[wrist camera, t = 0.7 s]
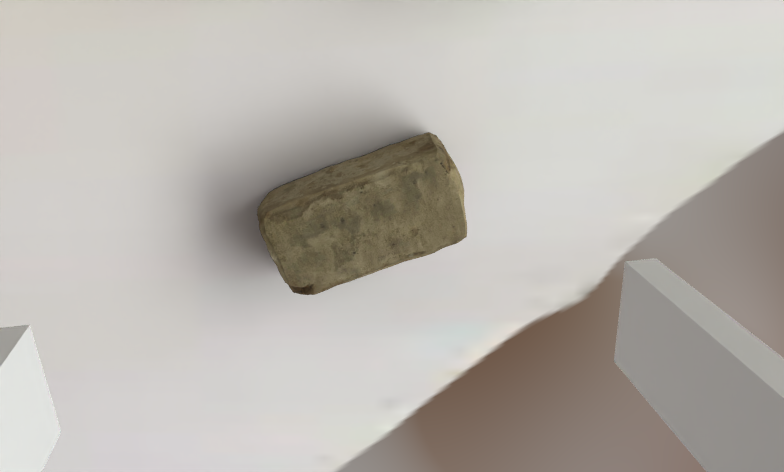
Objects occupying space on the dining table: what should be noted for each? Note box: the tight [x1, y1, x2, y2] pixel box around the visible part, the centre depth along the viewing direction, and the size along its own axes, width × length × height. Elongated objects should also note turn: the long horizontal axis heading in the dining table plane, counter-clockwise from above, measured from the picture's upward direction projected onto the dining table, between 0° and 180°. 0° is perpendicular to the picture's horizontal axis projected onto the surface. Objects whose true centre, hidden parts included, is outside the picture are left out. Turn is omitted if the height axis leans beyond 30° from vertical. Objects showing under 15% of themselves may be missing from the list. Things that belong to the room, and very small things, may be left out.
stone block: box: [257, 133, 467, 295], centre depth 37 cm, size 6×12×5 cm, turn 109°
